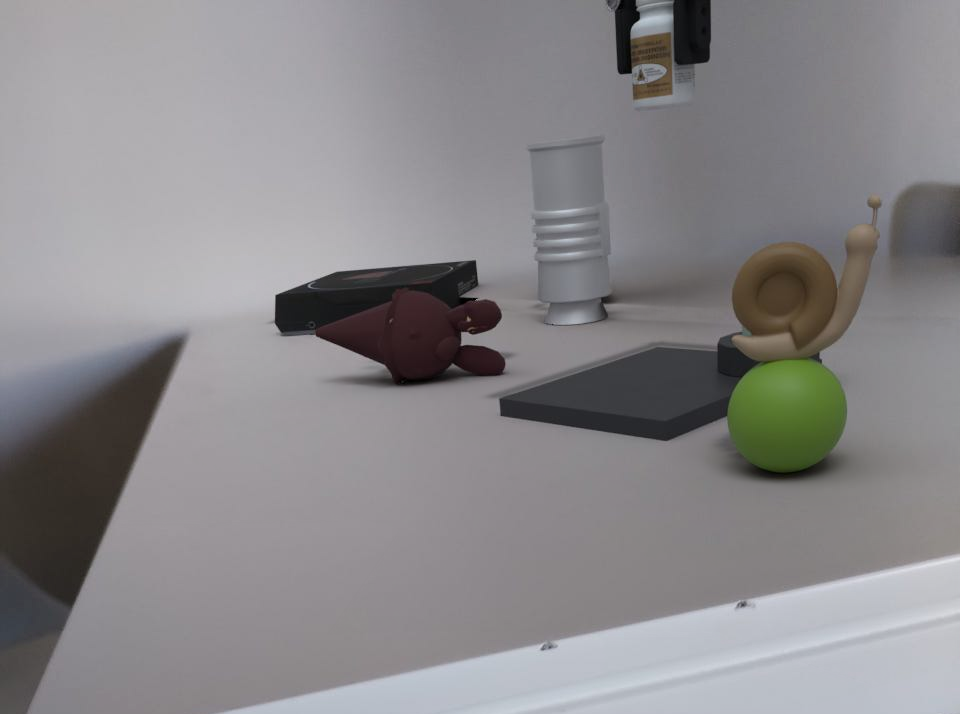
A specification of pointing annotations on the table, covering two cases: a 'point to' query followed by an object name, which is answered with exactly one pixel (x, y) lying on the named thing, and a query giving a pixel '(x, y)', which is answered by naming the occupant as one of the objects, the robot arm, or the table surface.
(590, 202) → the silver ribbed cylinder
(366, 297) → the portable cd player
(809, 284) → the snail figurine
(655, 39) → the pill bottle
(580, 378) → the scale
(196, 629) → the table surface
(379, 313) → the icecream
